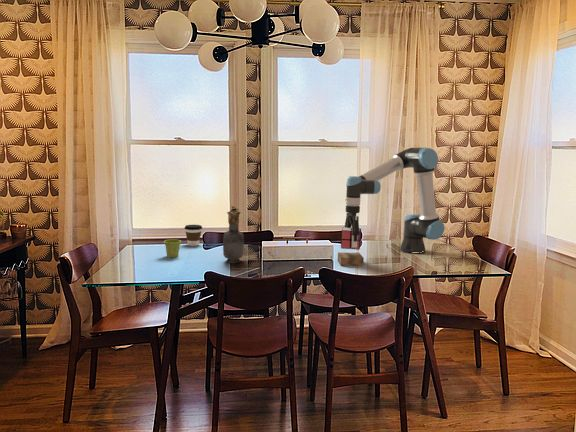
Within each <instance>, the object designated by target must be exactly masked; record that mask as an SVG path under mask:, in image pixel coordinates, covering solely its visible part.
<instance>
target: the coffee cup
mask: <svg viewBox="0 0 576 432" xmlns="http://www.w3.org/2000/svg"><path fill="white" fill-rule="evenodd" d="M184 229H185V235H186V240H187V245H188V246H191V247H197V246H199V245H200V240H201V234H202V230H203V226H202V225H200V224H186V225H185V226H184Z"/></svg>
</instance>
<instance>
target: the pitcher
mask: <svg viewBox="0 0 576 432" xmlns="http://www.w3.org/2000/svg"><path fill="white" fill-rule="evenodd" d="M241 213H242V212H241V211H239V208H237V207H236V206H233V205H231V209H230V211H227V212H226V214H227V216H228V217H227V220H228V221H227V222H228V230H227V231H225V232H224V233H223V240H222V241H223V242H222V246H223V247H222V252H223V253H222V254H223V257H224V258H226V263H229V264H237V263H240V262H241V260H240V259H241V258H243V256H244V250H245V249H244V244H245V240H244V232H242V231H240V230H239V223H240V214H241Z"/></svg>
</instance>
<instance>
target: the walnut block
mask: <svg viewBox="0 0 576 432" xmlns="http://www.w3.org/2000/svg"><path fill="white" fill-rule="evenodd" d="M337 262H338V264H339V265H340V267H364V256H363V255H362V254H361V253H360V252H339V251H338V252H337Z"/></svg>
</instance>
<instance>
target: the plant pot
mask: <svg viewBox="0 0 576 432" xmlns="http://www.w3.org/2000/svg"><path fill="white" fill-rule="evenodd" d="M163 243H164V246H165V249H166V250H165V252H166V257H167V258H178V257H179V252H180V246H181V243H182V240H180V239H174V238H173V239H165V240H164V241H163Z"/></svg>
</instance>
